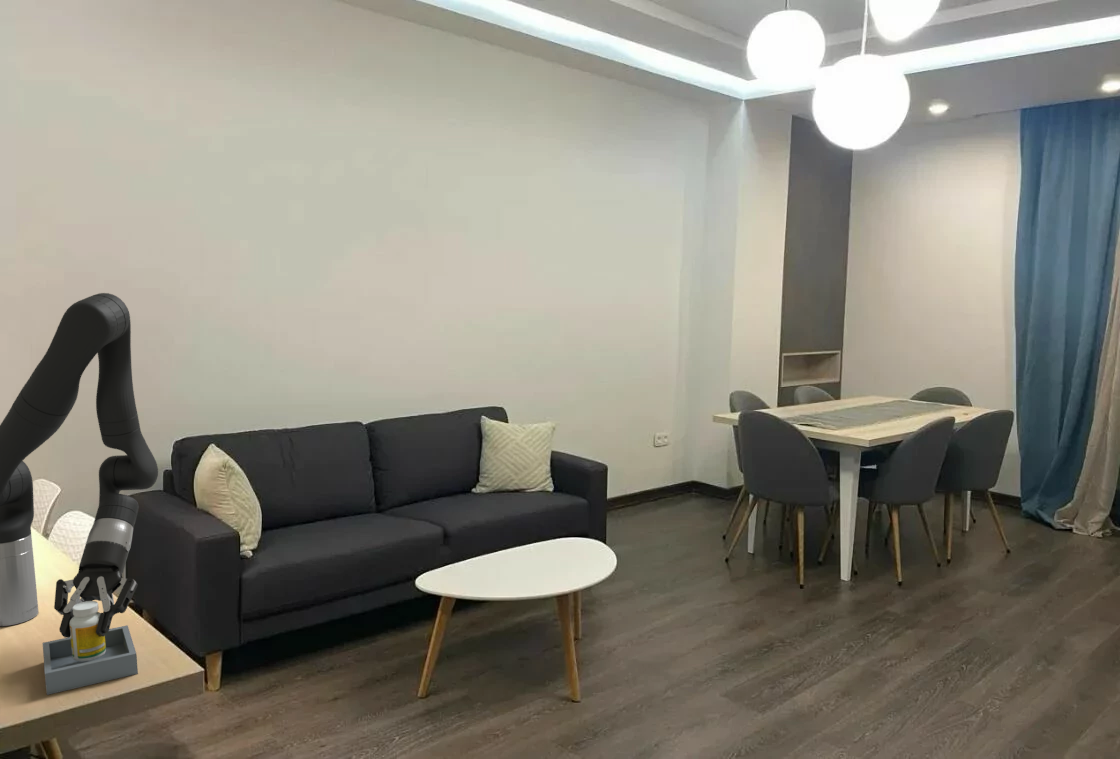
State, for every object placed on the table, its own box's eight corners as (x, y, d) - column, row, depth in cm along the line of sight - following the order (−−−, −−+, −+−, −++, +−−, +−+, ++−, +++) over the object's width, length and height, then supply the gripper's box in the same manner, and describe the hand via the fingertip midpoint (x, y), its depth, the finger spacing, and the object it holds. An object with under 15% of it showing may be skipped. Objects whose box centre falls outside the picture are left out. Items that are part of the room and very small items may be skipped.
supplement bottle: (65, 659, 154) (60, 608, 152) (92, 646, 159) (87, 597, 157) (87, 664, 152) (82, 613, 150) (113, 651, 157) (108, 601, 155)
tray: (46, 694, 146) (44, 673, 145) (44, 662, 158) (42, 642, 157) (137, 673, 153) (136, 653, 153) (129, 644, 165) (127, 625, 164)
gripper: (59, 540, 159) (31, 629, 149) (139, 538, 160) (116, 626, 150) (76, 557, 165) (49, 644, 155) (153, 555, 166) (131, 641, 156)
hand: (82, 635), depth 153 cm, fingers closed on supplement bottle, 5 cm apart
